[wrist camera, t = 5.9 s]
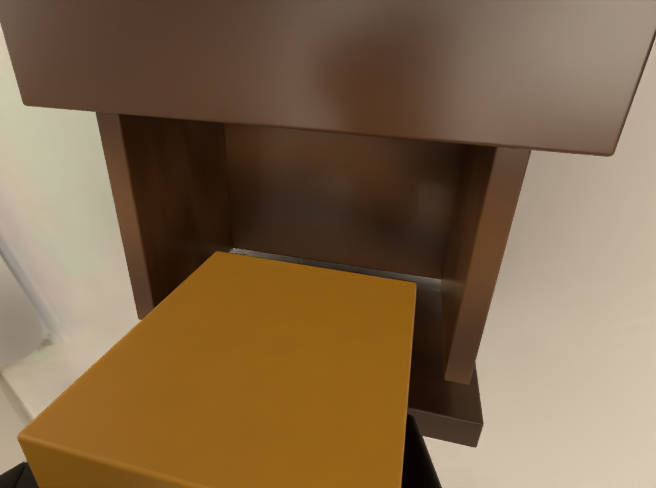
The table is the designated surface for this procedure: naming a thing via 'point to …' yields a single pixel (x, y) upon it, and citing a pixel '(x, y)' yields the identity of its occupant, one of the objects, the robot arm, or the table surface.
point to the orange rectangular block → (242, 387)
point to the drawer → (327, 225)
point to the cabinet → (346, 65)
